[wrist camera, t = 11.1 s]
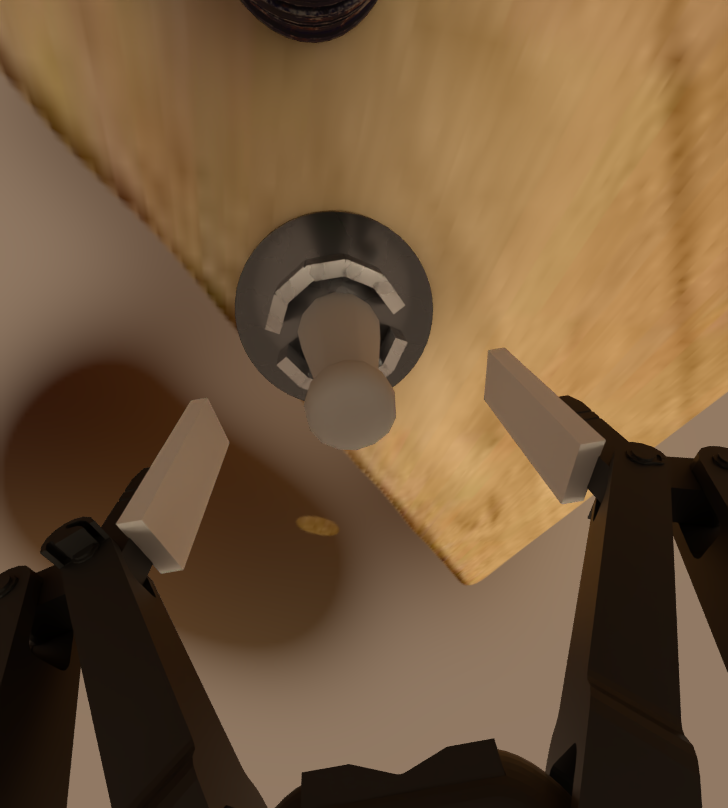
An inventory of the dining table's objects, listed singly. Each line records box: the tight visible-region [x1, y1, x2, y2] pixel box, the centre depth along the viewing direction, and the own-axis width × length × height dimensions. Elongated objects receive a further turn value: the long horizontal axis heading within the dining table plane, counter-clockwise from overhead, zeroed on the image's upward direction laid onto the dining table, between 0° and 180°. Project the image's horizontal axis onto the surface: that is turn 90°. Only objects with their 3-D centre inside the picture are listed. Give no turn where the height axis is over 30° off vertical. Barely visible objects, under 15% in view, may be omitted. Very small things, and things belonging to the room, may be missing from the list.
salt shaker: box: [297, 292, 396, 450], centre depth 20 cm, size 6×6×13 cm
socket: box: [235, 211, 433, 401], centre depth 25 cm, size 15×15×3 cm
